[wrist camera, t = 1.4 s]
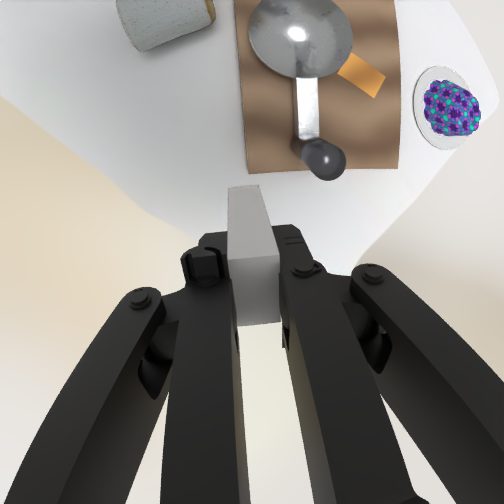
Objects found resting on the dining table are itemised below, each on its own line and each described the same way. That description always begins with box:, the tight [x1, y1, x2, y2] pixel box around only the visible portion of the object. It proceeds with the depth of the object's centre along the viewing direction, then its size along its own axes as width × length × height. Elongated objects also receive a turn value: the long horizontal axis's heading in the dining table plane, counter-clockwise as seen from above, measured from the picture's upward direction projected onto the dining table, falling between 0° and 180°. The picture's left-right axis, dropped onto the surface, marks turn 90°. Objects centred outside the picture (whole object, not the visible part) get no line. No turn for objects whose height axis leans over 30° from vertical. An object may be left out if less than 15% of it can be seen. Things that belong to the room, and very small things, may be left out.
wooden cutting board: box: [234, 0, 401, 174], centre depth 25 cm, size 22×18×2 cm
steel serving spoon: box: [248, 0, 353, 181], centre depth 21 cm, size 18×10×8 cm, turn 4°
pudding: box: [414, 66, 481, 150], centre depth 26 cm, size 12×12×5 cm
